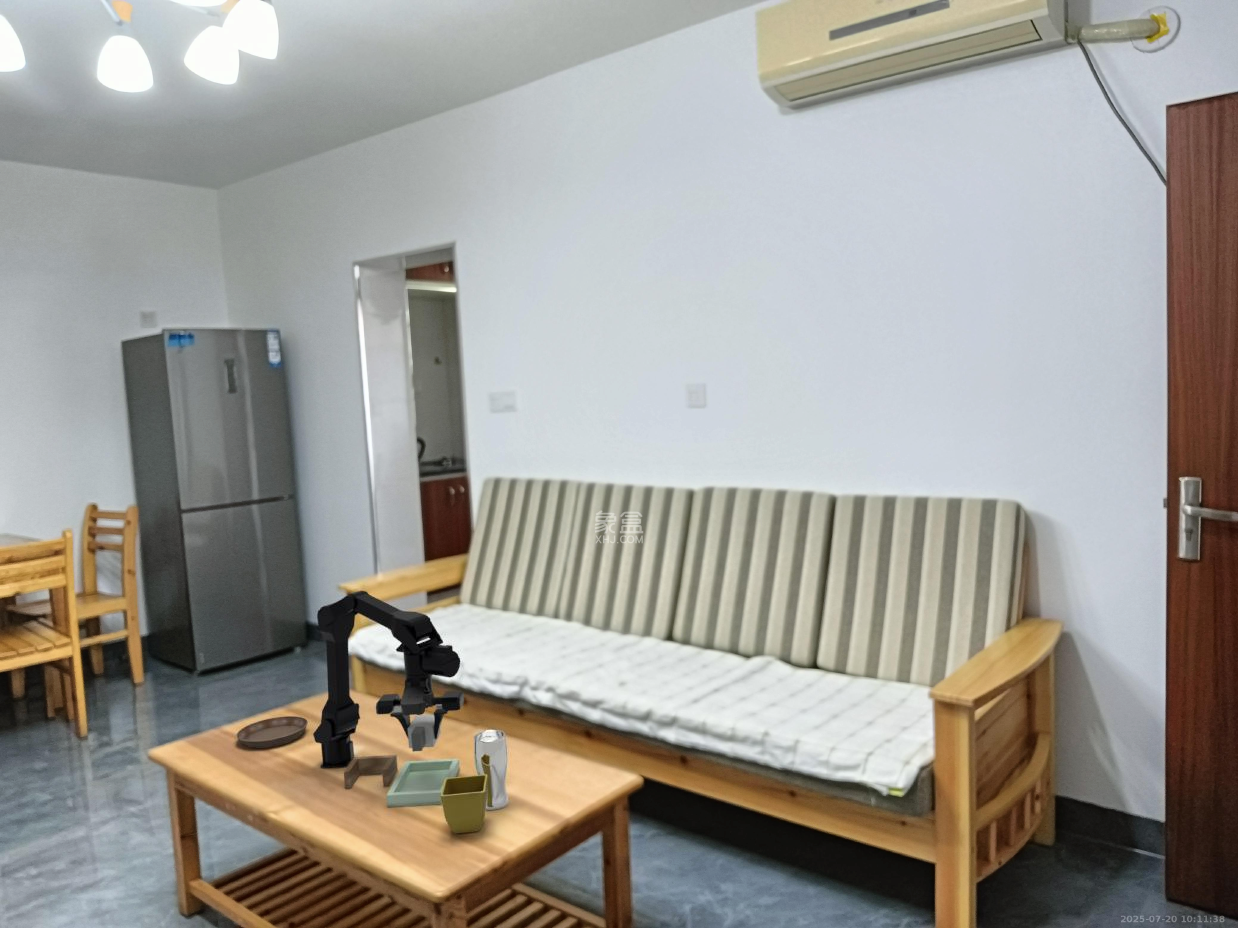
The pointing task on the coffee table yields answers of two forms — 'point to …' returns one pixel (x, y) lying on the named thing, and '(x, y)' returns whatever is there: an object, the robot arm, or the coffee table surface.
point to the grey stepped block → (422, 732)
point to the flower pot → (464, 802)
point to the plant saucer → (272, 731)
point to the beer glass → (492, 765)
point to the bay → (371, 769)
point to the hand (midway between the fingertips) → (423, 739)
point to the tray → (421, 782)
